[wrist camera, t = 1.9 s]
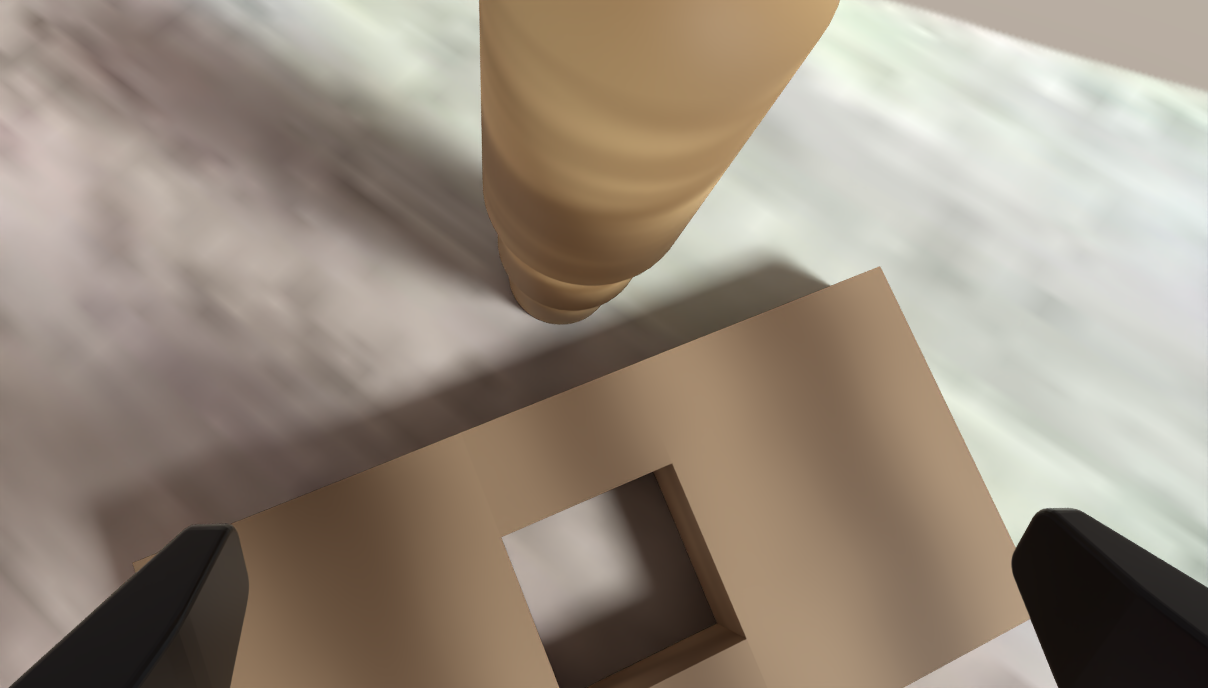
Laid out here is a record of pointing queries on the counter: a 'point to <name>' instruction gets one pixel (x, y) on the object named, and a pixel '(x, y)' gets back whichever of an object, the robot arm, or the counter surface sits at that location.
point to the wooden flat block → (699, 509)
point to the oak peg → (619, 128)
